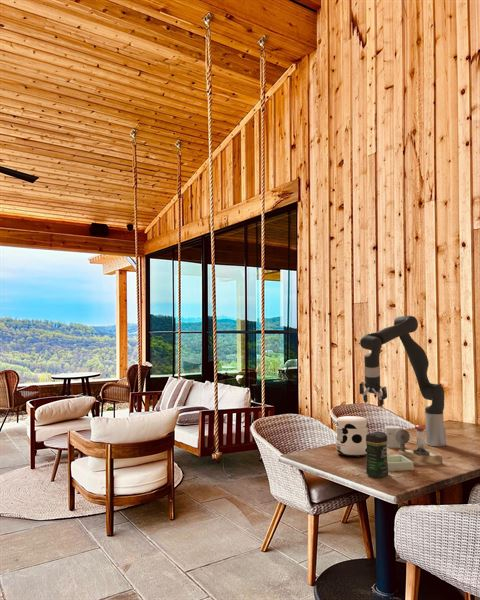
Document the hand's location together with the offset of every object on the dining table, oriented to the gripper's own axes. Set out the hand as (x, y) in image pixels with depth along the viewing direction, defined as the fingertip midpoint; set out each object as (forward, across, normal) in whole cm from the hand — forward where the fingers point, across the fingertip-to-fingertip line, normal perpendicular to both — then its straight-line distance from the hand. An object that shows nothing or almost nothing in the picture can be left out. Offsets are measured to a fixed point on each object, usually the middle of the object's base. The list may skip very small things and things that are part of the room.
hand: (373, 403), depth 235 cm
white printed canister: (+24, +6, +13) cm, 28 cm away
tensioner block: (+23, -24, +3) cm, 33 cm away
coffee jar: (+16, -19, +34) cm, 43 cm away
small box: (+30, -3, -15) cm, 34 cm away
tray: (+20, -20, +18) cm, 33 cm away
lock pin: (+18, -26, +3) cm, 32 cm away
